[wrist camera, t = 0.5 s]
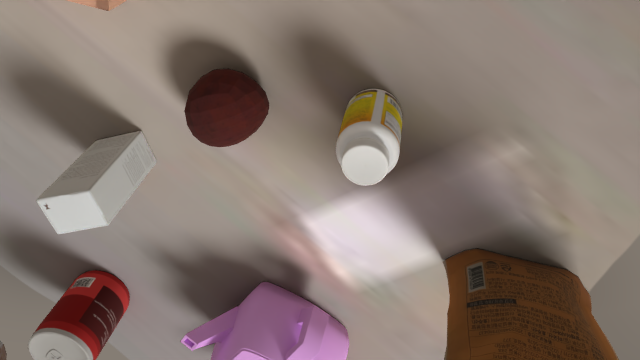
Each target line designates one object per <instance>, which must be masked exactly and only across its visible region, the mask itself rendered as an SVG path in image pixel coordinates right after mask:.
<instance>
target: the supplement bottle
mask: <svg viewBox="0 0 640 360" xmlns="http://www.w3.org/2000/svg"><path fill="white" fill-rule="evenodd" d="M402 119H403V114H402V109H401V106H400V104H399V102H398V101H397V99H396V98H395V97H394V96H393V95H391V94H390V93H388V92H386V91H384V90H380V89H367V90H363V91H361V92H359V93H357V94H356V95H355V96H353V97H352V99H351V100H350V101H349V103H348V105H347V108H346V111H345V114H344V118H343V121H342V125H341V128H340V132H339V136H338V139H337V143H336V156H337V159H338V161H339V163H340V165H341V168H342V171H343V173H344V175H345V176H346V177H347V178H348V179H349V180H350V181H352V182H353V183H355V184H358V185H364V186H368V185H373V184H376V183H378V182H380V181H381V180H382V179H383V178H384V177H385V176H386V174H387V173H389V172H390V171H391V170H392V169H393V168H394V167H395V165H396V163H397V161H398V158H399V153H400V142H401V131H402Z"/></svg>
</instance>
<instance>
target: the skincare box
mask: <svg viewBox="0 0 640 360" xmlns="http://www.w3.org/2000/svg"><path fill="white" fill-rule="evenodd" d="M155 164H156V159H155V157H154V155H153V153H152V151H151V149H150V147H149V145H148V143H147V141H146V139H145V137H144V135H143V133H142V131H137V132H132V133H128V134H123V135H118V136H114V137H110V138H105V139H100V140H96V141H95V142H94V143H93V144H92V145H91V146H90V147H89V148H88V149H87V150H86V151H85V152H84V153H83V154H82V155H81V156H80V157H79V158H78V159H77V160H76V161H75V162H74V163H73V164H72V165H71V166H70V167H69V168H68V169H67V170H66V171H65V172H64V173H63V174H62V175H61V176H60V177H59V178H58V179H57V180H56V181H55V182H54V183H53V184H52V185H51V186H50V187H49V188H47V189H46V190H45V191H44V192H43V193H42V195H41V196H40V197H39V198H38V199H37V200H36V201H37V203H38V204H39V206H40V208H41V209H42V211H43V212H44V214H45V215H46V217H47V218H48V220H49V222H50V223H51V225H52V226H53V228H54V229H55V231H56V232H57V233H58V234H63V233H68V232H74V231H79V230H85V229H90V228H96V227H101V226H107V225H109V224H110V222H111V221H112V220H113V218H114V217H115V216H116V215H117V213H118V212H119V211H120V209H121V208H122V207H123V205H124V204H125V203H126V202H127V200H128V199H129V198H130V196H131V195H132V194H133V193H134V191H135V190H136V189H137V187H138V186H139V185H140V183H141V182H142V181H143V180H144V178H145V177H146V176H147V174H148V173H149V172H150V170H151V169H152V168H153V166H154V165H155Z"/></svg>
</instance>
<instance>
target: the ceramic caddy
mask: <svg viewBox="0 0 640 360" xmlns="http://www.w3.org/2000/svg"><path fill="white" fill-rule="evenodd" d="M67 1H71V2H75V3H79V4H83V5H87V6H91V7H95V8H98V9H102V10H106V11H110V10H112V9H113V8H115V7H117V6H118V5H120V4H122V3H123V2H125V1H126V0H67Z"/></svg>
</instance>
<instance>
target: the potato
mask: <svg viewBox="0 0 640 360" xmlns="http://www.w3.org/2000/svg"><path fill="white" fill-rule="evenodd" d="M268 110H269V101H268V98H267V95H266V93H265V91H264V90H263V89H262V88H261V87H260V85H259V84H258V83H257V82H256V81H255V80H253V79H251V78H250V77H248V76H247V75H245V74H244V73H242V72H238V71H235V70H231V69H216V70H212V71H211V72H209V73H207V74H206V75H204V76H202V77H201V78H200V79H199V80H198V81H197V82H196V84H195V85H194V86H193V87H192V89H191V90H190V91H189V95H188V99H187V103H186V107H185V116H186V121H187V125H188V127H189V129H190V131H191V132H192V134H193V136H194V137H196V138H197V139H198V140H199V141H200V142H202V143H204V144H207V145H209V146H214V147H226V146H231V145H234V144H237V143H239V142H241V141H243V140H245V139H246V138H248V137H249V136H250V135H252V134H253V133H254V132H256V131H257V129H258V128H259V127H260V126H261V125H262V123H263V121H264V120H265V118H266V116H267V114H268Z"/></svg>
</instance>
